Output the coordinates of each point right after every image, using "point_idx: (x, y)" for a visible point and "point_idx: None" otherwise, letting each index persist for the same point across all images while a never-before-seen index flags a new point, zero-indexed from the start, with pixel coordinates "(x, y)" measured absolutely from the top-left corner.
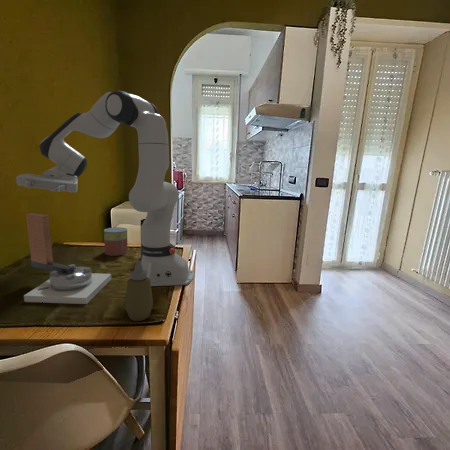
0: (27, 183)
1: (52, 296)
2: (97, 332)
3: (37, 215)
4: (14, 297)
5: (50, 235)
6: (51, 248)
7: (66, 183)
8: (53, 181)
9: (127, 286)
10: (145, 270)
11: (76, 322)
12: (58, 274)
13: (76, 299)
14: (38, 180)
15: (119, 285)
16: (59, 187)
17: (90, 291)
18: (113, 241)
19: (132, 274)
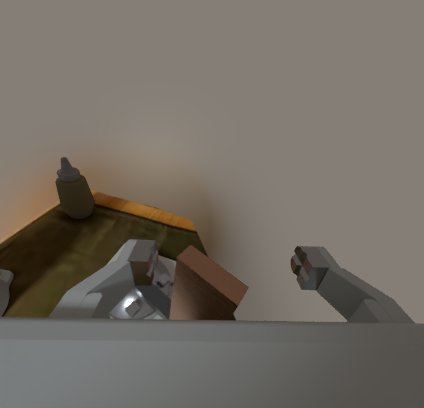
0: (311, 247)
1: (163, 257)
2: (125, 205)
3: (207, 259)
4: None
5: (173, 289)
6: (171, 305)
7: (28, 318)
8: (174, 323)
9: (86, 183)
10: (57, 172)
11: (140, 221)
12: (157, 282)
13: None
14: (320, 324)
15: (59, 293)
16: (127, 242)
17: (116, 258)
18: None
19: (78, 170)
